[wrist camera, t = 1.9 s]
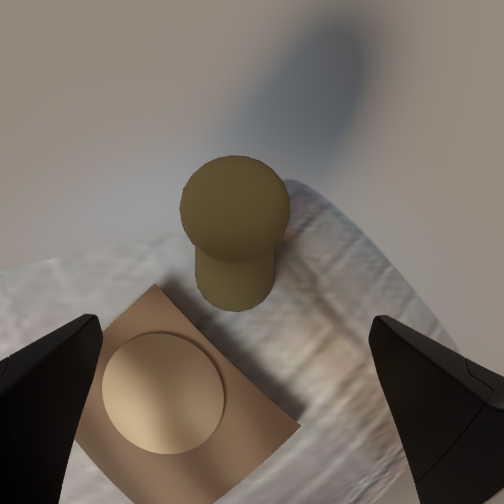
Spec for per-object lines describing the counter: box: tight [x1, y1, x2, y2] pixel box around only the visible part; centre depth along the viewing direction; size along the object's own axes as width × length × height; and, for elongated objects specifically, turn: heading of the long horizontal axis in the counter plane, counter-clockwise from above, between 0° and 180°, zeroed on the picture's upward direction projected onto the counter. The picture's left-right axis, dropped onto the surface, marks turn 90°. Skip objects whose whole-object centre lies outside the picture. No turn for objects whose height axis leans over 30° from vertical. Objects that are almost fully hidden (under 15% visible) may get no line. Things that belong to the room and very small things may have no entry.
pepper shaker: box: [180, 155, 290, 312], centre depth 18 cm, size 6×6×11 cm
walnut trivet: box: [74, 284, 301, 504], centre depth 17 cm, size 13×14×2 cm
